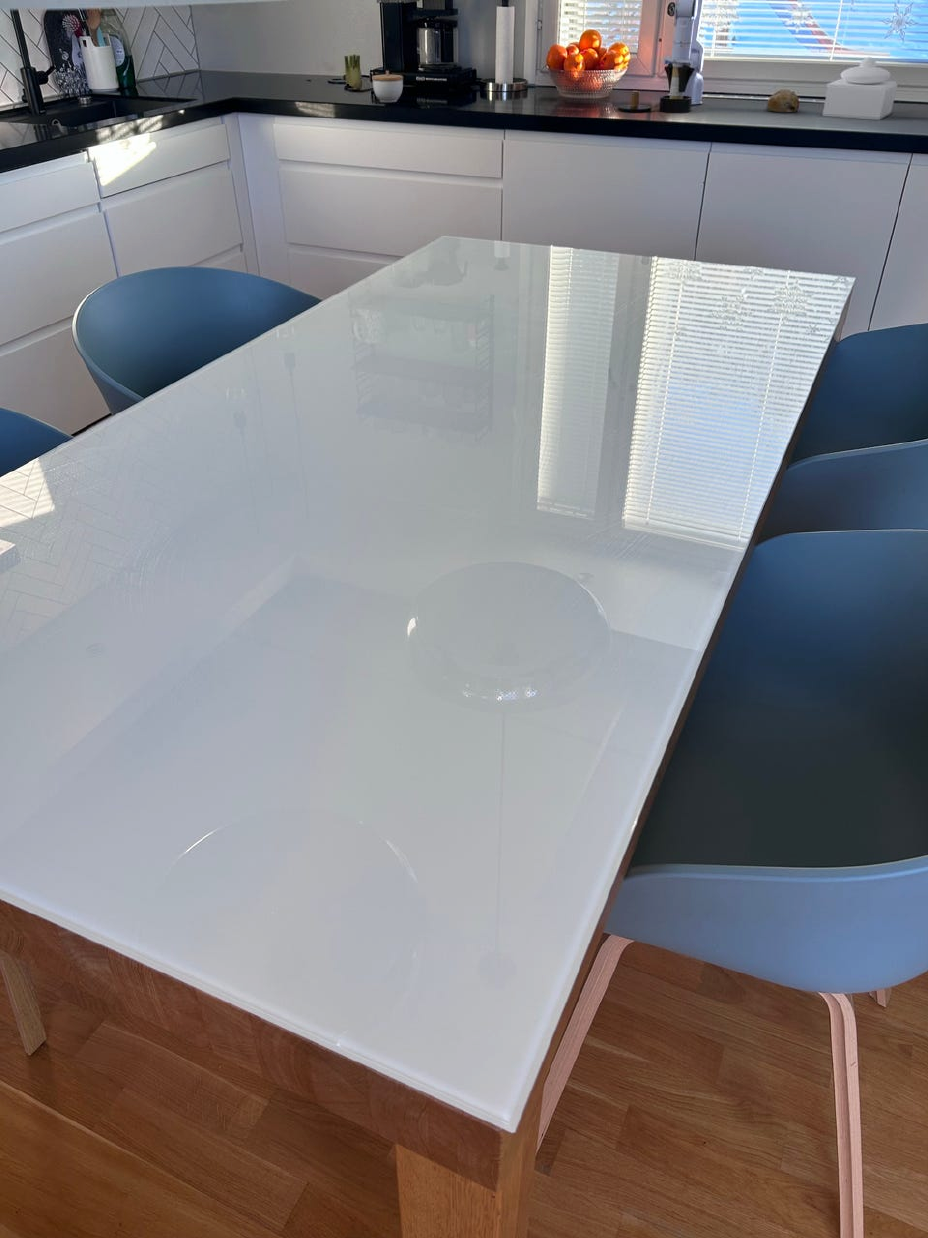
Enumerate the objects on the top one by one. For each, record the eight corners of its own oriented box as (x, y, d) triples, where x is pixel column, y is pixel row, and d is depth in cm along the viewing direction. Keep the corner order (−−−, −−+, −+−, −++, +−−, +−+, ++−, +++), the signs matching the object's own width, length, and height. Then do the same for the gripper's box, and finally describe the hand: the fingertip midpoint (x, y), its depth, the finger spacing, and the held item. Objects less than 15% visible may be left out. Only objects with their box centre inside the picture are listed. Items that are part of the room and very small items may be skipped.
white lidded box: (879, 119, 294) (892, 60, 285) (820, 115, 302) (831, 57, 293) (891, 112, 306) (904, 55, 297) (834, 109, 314) (845, 53, 305)
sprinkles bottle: (674, 105, 315) (679, 58, 307) (685, 106, 312) (690, 59, 304) (665, 106, 312) (670, 59, 305) (675, 107, 310) (681, 60, 302)
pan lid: (628, 107, 320) (630, 88, 317) (657, 109, 314) (659, 90, 311) (611, 110, 313) (612, 91, 310) (639, 113, 307) (641, 94, 304)
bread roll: (774, 125, 310) (786, 101, 303) (757, 106, 314) (768, 82, 307) (797, 122, 313) (809, 99, 307) (780, 104, 318) (791, 80, 311)
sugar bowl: (404, 98, 340) (403, 68, 335) (403, 102, 331) (402, 72, 326) (374, 99, 340) (372, 69, 335) (372, 103, 331) (371, 72, 326)
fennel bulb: (345, 91, 360) (343, 54, 353) (349, 89, 364) (346, 53, 357) (360, 91, 359) (358, 54, 352) (363, 89, 363) (361, 53, 356)
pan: (668, 107, 319) (670, 94, 316) (696, 110, 313) (697, 96, 311) (653, 110, 312) (654, 97, 310) (680, 113, 307) (682, 99, 305)
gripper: (657, 41, 305) (653, 89, 313) (687, 44, 295) (682, 94, 303) (674, 40, 308) (669, 88, 316) (705, 43, 298) (699, 92, 306)
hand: (676, 91), depth 310 cm, fingers closed on sprinkles bottle, 4 cm apart
